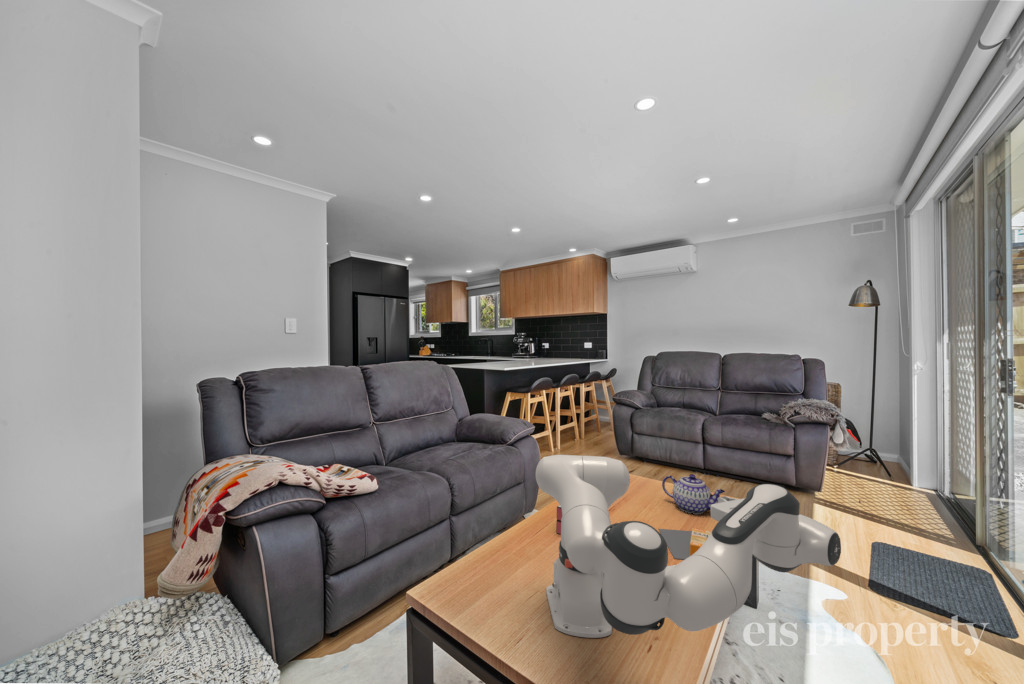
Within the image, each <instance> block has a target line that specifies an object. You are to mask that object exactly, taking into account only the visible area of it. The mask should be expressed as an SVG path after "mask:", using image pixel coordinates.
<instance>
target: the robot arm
mask: <svg viewBox="0 0 1024 684" xmlns="http://www.w3.org/2000/svg"><path fill="white" fill-rule="evenodd" d="M535 480H536V483H537V485H538V488H539V489H540V491H541V492H543V493H545V494H547V495H549V496H550V497H552V498H553V499H554V500H555V501H556V502H557V503H558V505H560V506H561V509H562V518H561V535H560V540H559V545H558V558H557V559H556V560H555V561H554V562H553V573H552V580H553V581H552V584H551V585H548V586H547V587H546V588H545V594H546V598H547V602H548V606H549V610H550V614H551V619H552V623H553V627H554V629H556V630H557V631H559V632H561V633H564V634H565V635H569V636H575V637H580V638H589V639H590V638H591V639H592V638H593V639H594V638H595V639H597V638H599V639H600V638H604V637H608V636H610V635H612V633H613V629H614V630H616V631H618V632H620V633H622V634H626V635H631V636H632V635H635V636H636V635H642V634H645V633H647V632H649V631H659V630H660V629H662V627H663V626H664V623H665V620H666V618H667V619H668V620H670V621H671V622H673V623H674V624H675V625H676V626H678V627H679V628H681V629H682V630H684V631H688V632H699V631H703V630H705V629H709V628H711V627H714V626H716V625H718V624H721V623H722V622H724V621H725V620H727V619H729V618H730V617H731V616H732V615H734V614H735V613H737V612H738V611H739V610H740V609H741V608H742V607H743V605H744V604H745V603H746V601H747V600H748V597H749V595H750V594H751V590H752V583H753V557H754V558H755V559H756V560H757V562H759V563H760V564H762V565H763V566H764V567H766V568H768V569H771V570H773V571H774V572H779V573H789V572H791V571H794V570H796V569H797V568H798V567H800V566H802V565H806V564H818V565H819V564H820V565H822V566H827V567H832V566H833V567H834V566H835V565H836V564H837V563H838V562H839V560H840V558H841V554H842V542H841V537H840V535H839V534H838V532H837V531H835V530H834V529H832V528H831V527H829V526H827V525H825V524H824V523H822V522H820V521H818V520H815V519H813V518H811V517H808V516H807V515H804V514H801V513H800V506H801V505H800V504H801V503H800V501H799V500H798V499H797V498H796V497H795V496H794V494H793V493H791V492H790V491H789V490H788V489H787V488H786V487H783V486H781V485H779V484H773V483H761V484H758V485H755V486H753V487H752V488H751V489H750V490H748V492H746V497H745V498H744V497H743V498H734V497H729V496H727V495H726V496H725V495H724V496H719V497H718V503H716V504H712V505H711V510H710V517H711V518H712V519H713V520H714V521H717V523H716V524H715V526H714V528H713V529H712V531H711V532H712V533H711V534H710V535H709V537H708V538H707V540H706V541H705V542H704V544H703V545H702V546H701V547H700V548H699V549H698V550H697V551H696V552H695V553H694V554H693V555H691V556H690V557H688V558H686V559H685V560H682V561H680V562H679V563H677V564H673V565H668V563H669V548H668V546H667V543H666V540H665V539H664V537H663V536H662V535H661V533H660V531H659V530H657V529H656V528H655V527H653V526H652V525H650V524H648V523H645V522H643V521H639V520H627V521H625V520H624V521H620V522H615V523H611V518H610V512H609V509H610V507H611V506H612V505H613V504H614V503H615V502H616V501H617V500H618V499H619V500H620V498H622V497H623V496H625V494H626V493H627V491H628V490H629V488H630V483H631V476H630V471H629V469H628V467H627V466H626V464H625V463H624V462H623V461H622V460H620V459H615V458H612V457H609V456H601V455H600V456H599V455H598V456H597V455H596V456H595V455H574V454H552V455H547V456H543V457H542V458H541V459H539V462H538V463H537V466H536V468H535Z"/></svg>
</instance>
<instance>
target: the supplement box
mask: <svg viewBox="0 0 1024 684" xmlns="http://www.w3.org/2000/svg"><path fill="white" fill-rule="evenodd" d="M691 531H692V535H691V542H690V556H691V555H693V554H694V553H695V552H696V551H697V550H698V549H699V548H700V547H701V546H702V545H703V544H704V542H705V541H706V540H707V538H708V537H709V535H710V534H711V533H712V531H709V530H704V529H698V528H695V527H692V530H691Z"/></svg>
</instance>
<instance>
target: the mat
mask: <svg viewBox="0 0 1024 684" xmlns="http://www.w3.org/2000/svg"><path fill="white" fill-rule="evenodd" d="M658 532H659V533H660V534H661V535H662V536H663V537H664V539H665V540H666V543H667V548H668V551H670V554H671V555H672V558H673V559H674V560H679V561H680V560H682V561H683V560H685V559H686V558H688V557H690V542H691V535H692V530H683V529H682V530H681V529H671V528H670V529H669V528H667V529H666V528H658Z"/></svg>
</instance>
